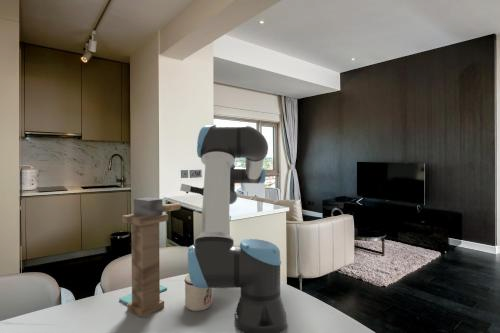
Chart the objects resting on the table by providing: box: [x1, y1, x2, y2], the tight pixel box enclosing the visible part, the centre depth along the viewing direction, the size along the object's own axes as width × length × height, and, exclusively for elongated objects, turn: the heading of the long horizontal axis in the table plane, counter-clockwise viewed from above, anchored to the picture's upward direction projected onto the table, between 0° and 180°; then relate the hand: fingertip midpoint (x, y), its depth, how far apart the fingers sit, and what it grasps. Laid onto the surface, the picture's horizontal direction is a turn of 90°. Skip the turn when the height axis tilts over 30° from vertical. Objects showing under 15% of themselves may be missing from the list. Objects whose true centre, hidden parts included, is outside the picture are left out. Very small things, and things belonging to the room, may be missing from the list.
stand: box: [121, 212, 169, 318], centre depth 95 cm, size 10×10×30 cm
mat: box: [119, 284, 168, 305], centre depth 105 cm, size 6×15×1 cm, turn 144°
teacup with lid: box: [184, 274, 213, 312], centre depth 99 cm, size 12×9×12 cm
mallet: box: [133, 196, 182, 217], centre depth 99 cm, size 15×8×5 cm, turn 144°
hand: (197, 189), depth 112 cm, fingers open, 13 cm apart
